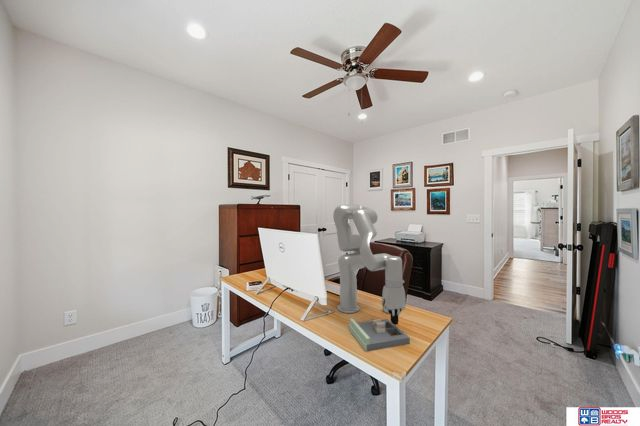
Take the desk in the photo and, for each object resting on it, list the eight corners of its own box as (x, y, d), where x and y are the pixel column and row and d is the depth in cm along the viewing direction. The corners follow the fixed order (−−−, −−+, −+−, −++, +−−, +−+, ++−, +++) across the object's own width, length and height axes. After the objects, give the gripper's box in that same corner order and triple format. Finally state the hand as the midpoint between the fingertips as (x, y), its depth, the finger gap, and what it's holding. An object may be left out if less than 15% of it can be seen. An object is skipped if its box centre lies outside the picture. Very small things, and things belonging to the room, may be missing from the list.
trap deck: (348, 329, 113) (348, 319, 113) (387, 323, 118) (387, 313, 118) (365, 351, 95) (365, 338, 95) (409, 343, 100) (409, 331, 100)
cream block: (373, 328, 108) (372, 320, 108) (380, 327, 109) (380, 319, 109) (377, 333, 104) (377, 324, 104) (385, 331, 105) (385, 323, 105)
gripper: (403, 279, 114) (403, 317, 114) (375, 282, 110) (375, 321, 110) (413, 284, 107) (413, 324, 106) (383, 287, 103) (384, 329, 103)
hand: (394, 323), depth 108 cm, fingers closed
